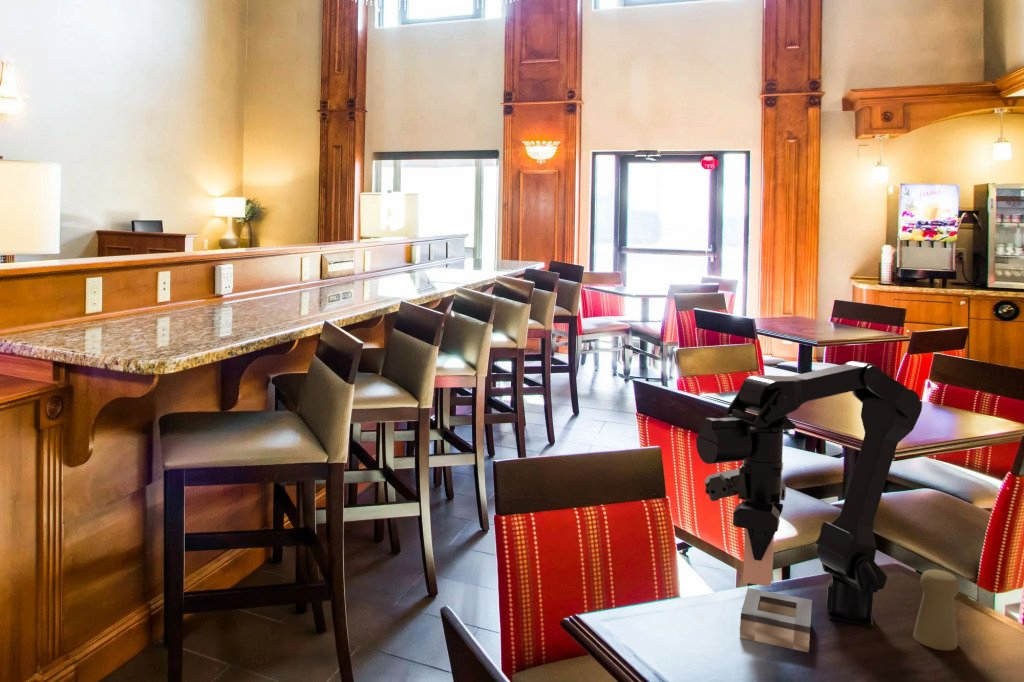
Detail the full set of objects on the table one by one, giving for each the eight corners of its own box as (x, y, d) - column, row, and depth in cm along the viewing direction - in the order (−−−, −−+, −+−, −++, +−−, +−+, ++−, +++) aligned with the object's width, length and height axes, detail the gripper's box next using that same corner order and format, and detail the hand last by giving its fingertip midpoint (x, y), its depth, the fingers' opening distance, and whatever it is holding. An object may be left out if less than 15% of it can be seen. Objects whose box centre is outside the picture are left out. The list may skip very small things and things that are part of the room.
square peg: (772, 576, 115) (774, 515, 114) (770, 586, 111) (772, 524, 110) (746, 572, 116) (748, 512, 115) (743, 582, 113) (745, 520, 112)
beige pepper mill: (964, 652, 109) (970, 583, 108) (920, 647, 111) (926, 578, 110) (948, 633, 115) (954, 567, 114) (907, 628, 117) (912, 563, 115)
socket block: (810, 623, 118) (812, 600, 117) (808, 652, 108) (810, 627, 108) (746, 610, 122) (747, 587, 121) (739, 637, 112) (740, 613, 112)
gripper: (718, 439, 124) (715, 527, 125) (699, 467, 107) (696, 568, 108) (787, 446, 119) (784, 537, 121) (779, 476, 102) (775, 582, 104)
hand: (759, 554), depth 113 cm, fingers closed on square peg, 4 cm apart
